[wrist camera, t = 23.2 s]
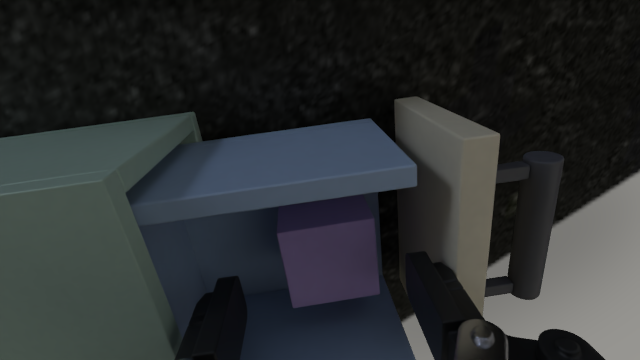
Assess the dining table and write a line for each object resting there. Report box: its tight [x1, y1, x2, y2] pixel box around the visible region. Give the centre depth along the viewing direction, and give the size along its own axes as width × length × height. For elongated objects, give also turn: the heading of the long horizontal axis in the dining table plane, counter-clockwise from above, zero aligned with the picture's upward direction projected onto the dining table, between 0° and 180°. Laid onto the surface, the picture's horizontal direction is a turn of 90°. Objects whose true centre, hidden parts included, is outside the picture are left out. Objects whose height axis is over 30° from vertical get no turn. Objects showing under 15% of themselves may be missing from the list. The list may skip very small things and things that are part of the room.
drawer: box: [125, 96, 564, 360], centre depth 15 cm, size 18×11×7 cm, turn 97°
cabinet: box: [0, 112, 203, 360], centre depth 15 cm, size 15×13×9 cm
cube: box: [277, 194, 380, 308], centre depth 16 cm, size 4×4×4 cm
